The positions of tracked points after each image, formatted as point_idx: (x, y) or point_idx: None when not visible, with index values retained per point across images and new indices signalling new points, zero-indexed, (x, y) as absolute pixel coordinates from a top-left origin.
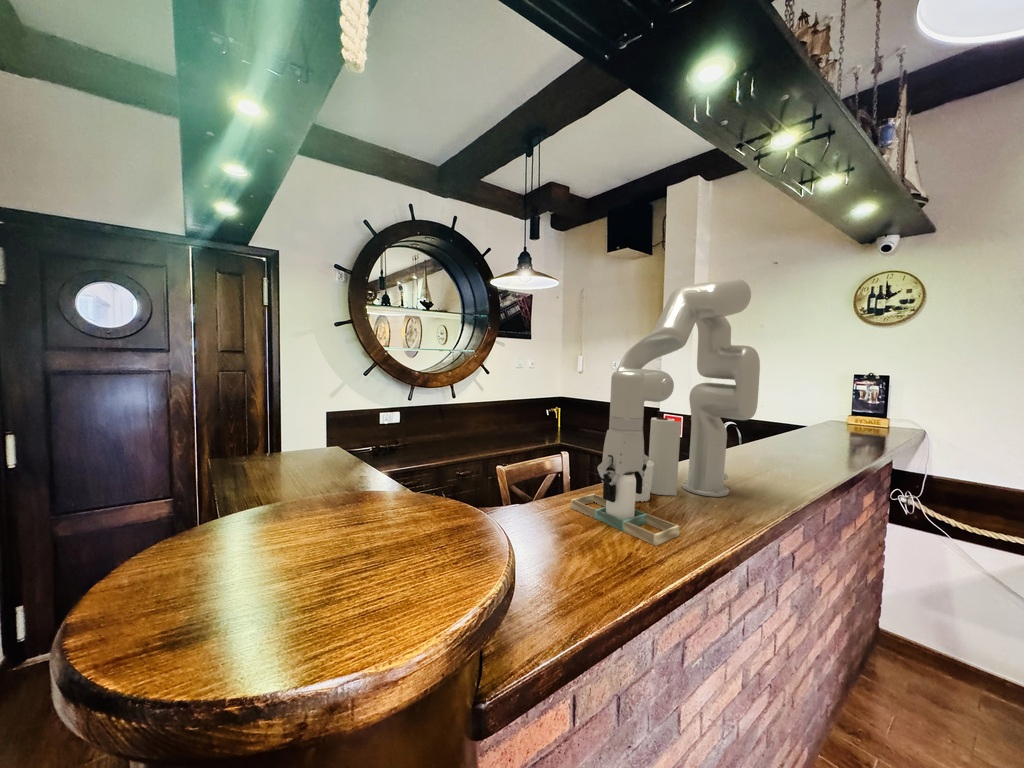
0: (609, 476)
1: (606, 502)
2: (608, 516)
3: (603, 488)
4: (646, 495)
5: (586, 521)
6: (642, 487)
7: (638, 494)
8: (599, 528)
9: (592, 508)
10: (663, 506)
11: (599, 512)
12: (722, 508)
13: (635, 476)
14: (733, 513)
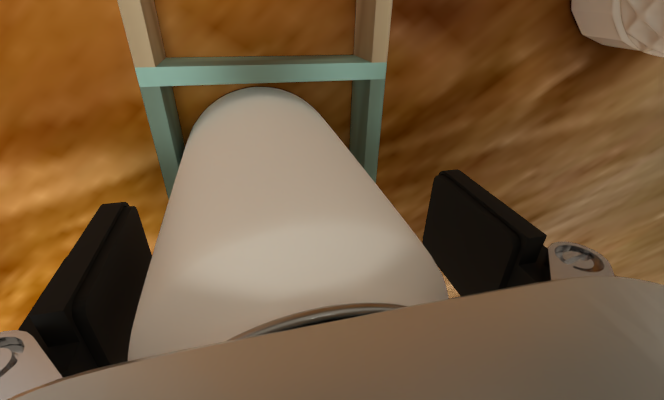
0: (136, 352)
1: (187, 154)
2: (164, 180)
3: (68, 260)
4: (627, 47)
5: (64, 58)
6: (662, 43)
7: (609, 21)
8: (91, 170)
9: (130, 37)
10: (573, 131)
11: (148, 109)
12: (652, 234)
13: (510, 285)
14: (623, 268)
